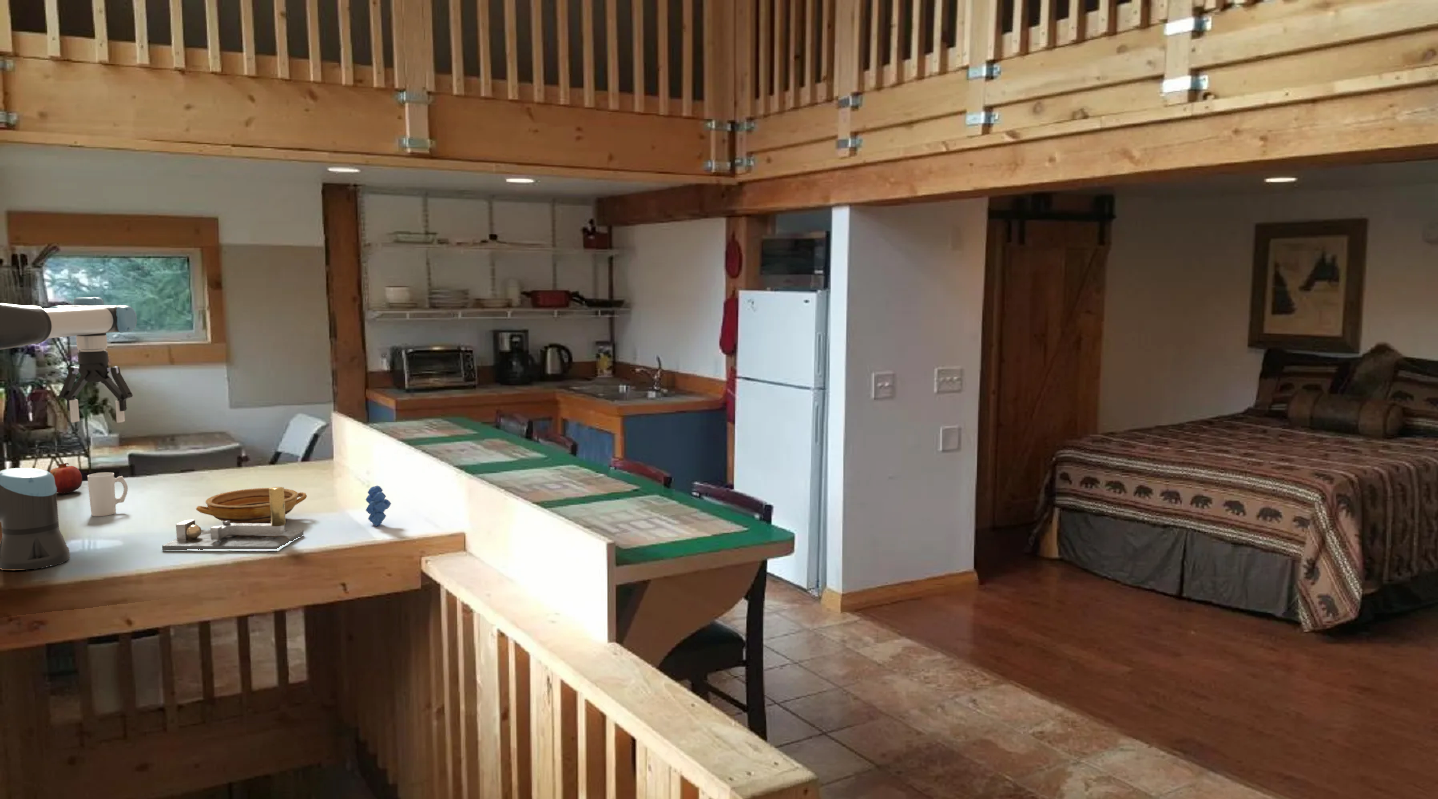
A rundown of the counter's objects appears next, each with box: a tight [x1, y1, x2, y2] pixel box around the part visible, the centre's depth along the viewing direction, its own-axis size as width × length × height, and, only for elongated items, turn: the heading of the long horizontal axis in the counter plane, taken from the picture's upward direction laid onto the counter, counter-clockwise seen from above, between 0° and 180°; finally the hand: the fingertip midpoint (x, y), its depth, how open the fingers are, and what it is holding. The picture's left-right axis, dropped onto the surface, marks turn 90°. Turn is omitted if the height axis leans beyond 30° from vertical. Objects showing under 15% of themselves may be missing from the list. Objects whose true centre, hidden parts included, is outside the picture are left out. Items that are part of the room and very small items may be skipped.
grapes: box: [365, 485, 392, 526], centre depth 283 cm, size 12×7×12 cm, turn 38°
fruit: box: [49, 462, 83, 495], centre depth 323 cm, size 11×10×10 cm
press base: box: [161, 519, 305, 551], centre depth 264 cm, size 16×30×6 cm, turn 89°
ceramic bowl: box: [195, 487, 308, 523], centre depth 285 cm, size 30×24×8 cm
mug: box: [86, 472, 129, 517], centre depth 296 cm, size 10×7×12 cm, turn 129°
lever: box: [209, 486, 287, 540], centre depth 263 cm, size 8×17×12 cm, turn 89°
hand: (98, 422), depth 292 cm, fingers open, 13 cm apart
